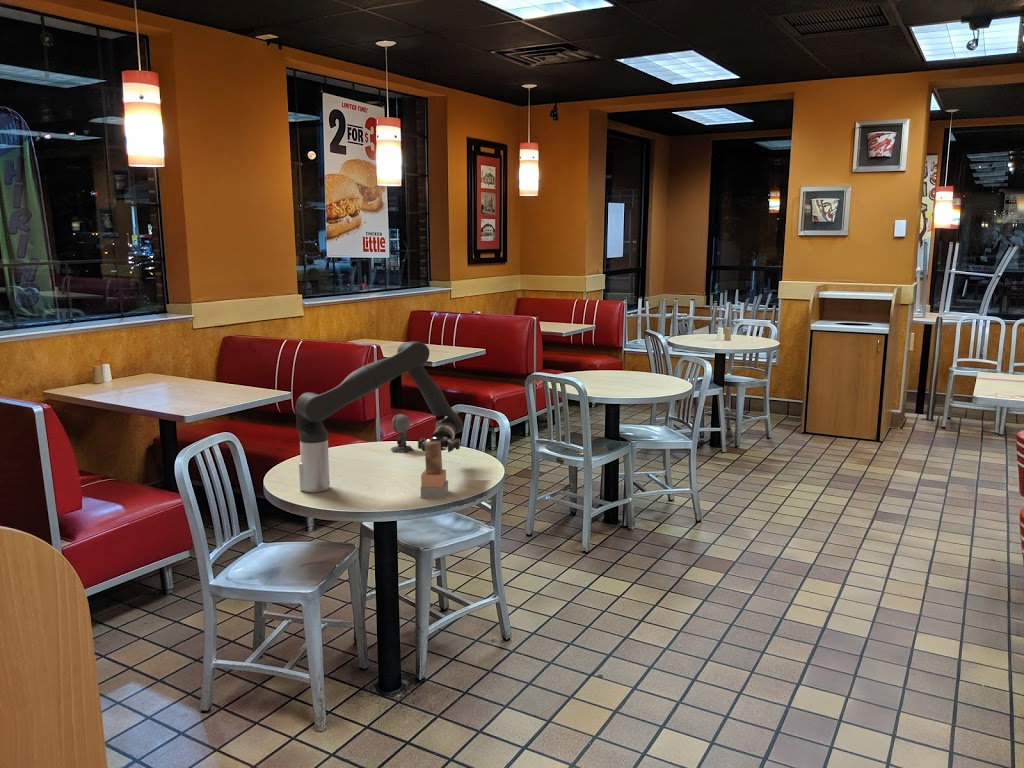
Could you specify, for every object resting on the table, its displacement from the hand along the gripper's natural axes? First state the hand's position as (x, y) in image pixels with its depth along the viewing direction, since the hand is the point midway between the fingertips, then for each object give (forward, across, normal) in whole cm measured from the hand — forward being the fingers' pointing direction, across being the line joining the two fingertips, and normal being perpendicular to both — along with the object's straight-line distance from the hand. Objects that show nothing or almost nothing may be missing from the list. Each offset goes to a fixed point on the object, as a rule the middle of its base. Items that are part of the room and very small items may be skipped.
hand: (436, 449), depth 259 cm
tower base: (+3, 0, +15) cm, 15 cm away
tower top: (+3, -1, +11) cm, 12 cm away
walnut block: (+3, 0, +7) cm, 8 cm away
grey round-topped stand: (-53, -22, +15) cm, 59 cm away
